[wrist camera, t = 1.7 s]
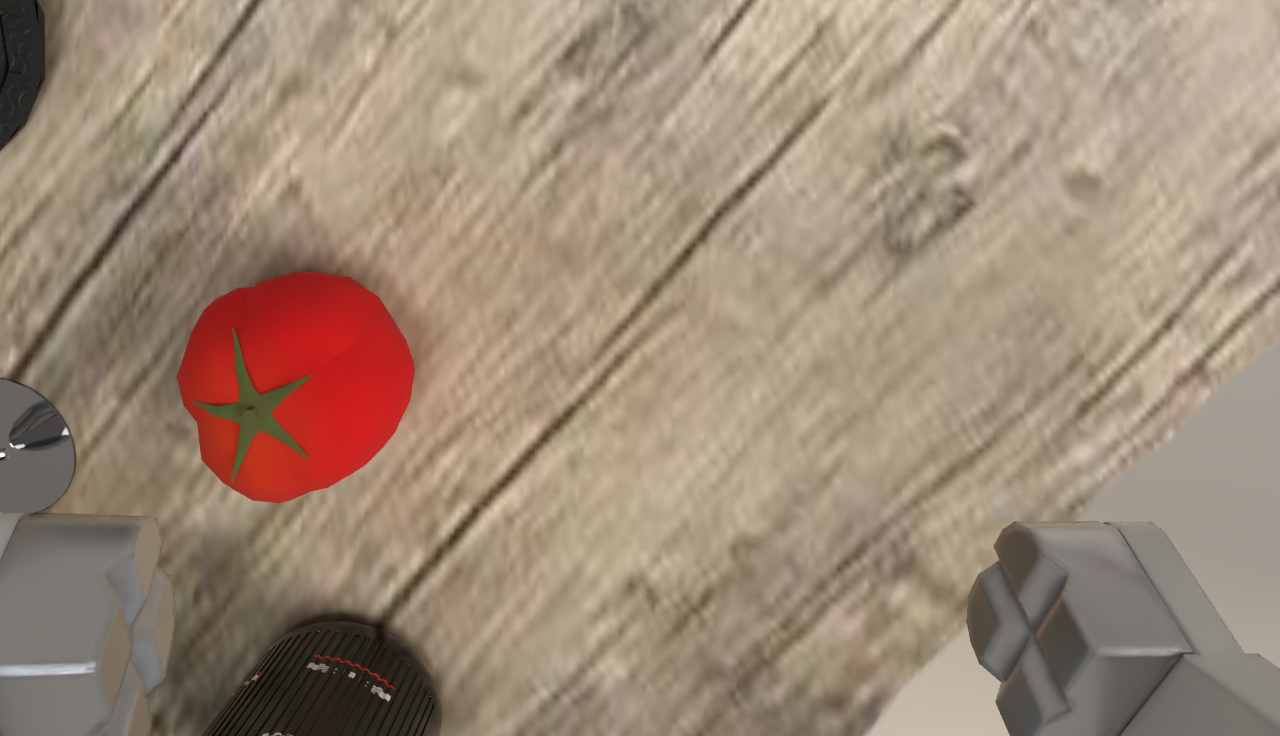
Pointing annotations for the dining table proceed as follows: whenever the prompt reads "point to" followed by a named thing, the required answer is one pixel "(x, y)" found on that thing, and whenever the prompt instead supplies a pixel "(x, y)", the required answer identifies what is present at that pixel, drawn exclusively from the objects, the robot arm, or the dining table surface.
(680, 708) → the dining table surface
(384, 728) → the black silver domed canister
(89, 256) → the dining table surface
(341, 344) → the tomato
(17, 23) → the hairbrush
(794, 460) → the dining table surface
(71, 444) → the metal goblet
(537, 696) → the dining table surface
